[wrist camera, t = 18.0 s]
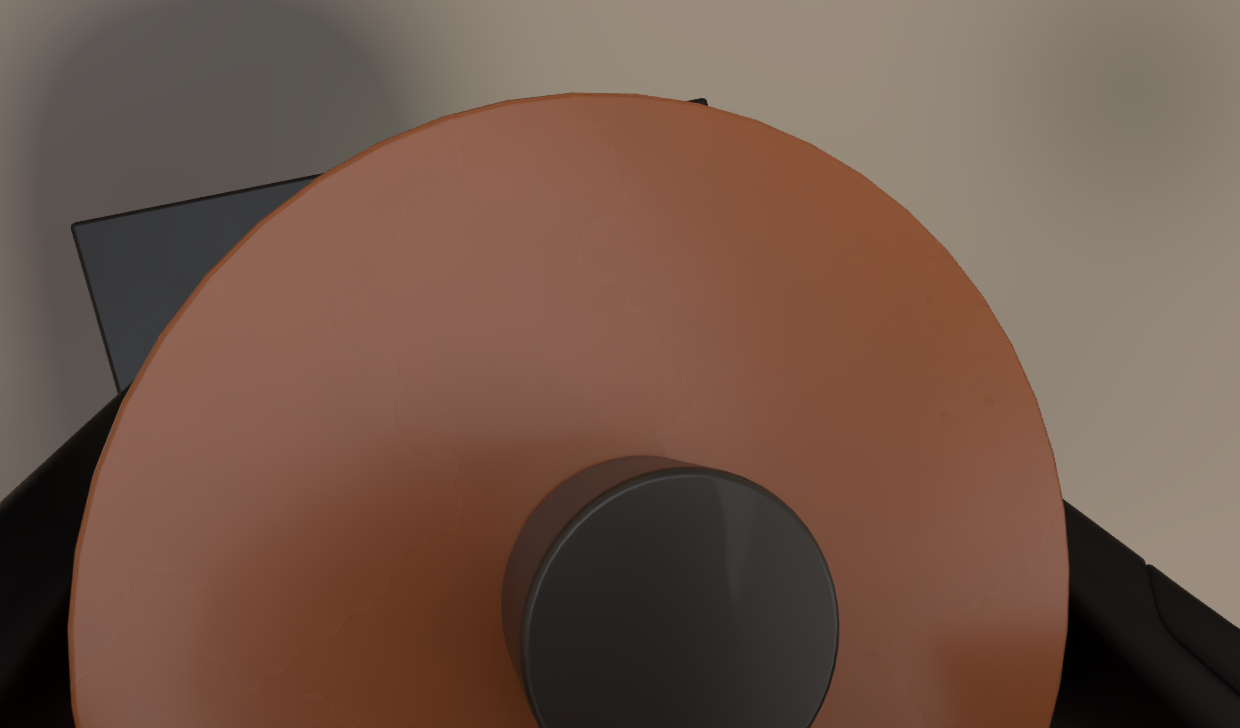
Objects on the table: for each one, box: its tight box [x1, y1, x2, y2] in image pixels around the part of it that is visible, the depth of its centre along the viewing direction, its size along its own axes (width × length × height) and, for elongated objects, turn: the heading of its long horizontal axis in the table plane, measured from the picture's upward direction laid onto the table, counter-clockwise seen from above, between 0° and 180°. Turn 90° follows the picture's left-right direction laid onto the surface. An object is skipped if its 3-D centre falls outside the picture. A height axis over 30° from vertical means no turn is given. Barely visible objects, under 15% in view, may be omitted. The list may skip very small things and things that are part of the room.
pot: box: [67, 93, 1069, 728], centre depth 9 cm, size 7×7×9 cm
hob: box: [71, 98, 708, 394], centre depth 16 cm, size 20×11×2 cm, turn 15°
